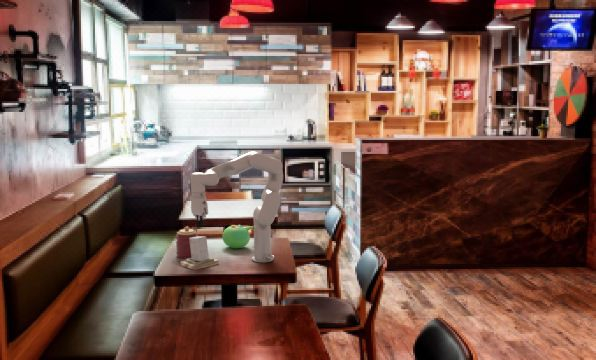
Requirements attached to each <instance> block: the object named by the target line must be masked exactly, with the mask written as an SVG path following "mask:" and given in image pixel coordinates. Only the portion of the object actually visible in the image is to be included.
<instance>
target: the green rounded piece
mask: <svg viewBox="0 0 596 360" xmlns="http://www.w3.org/2000/svg"><path fill="white" fill-rule="evenodd" d="M252 229H254V225H252V226H249V225H248V226H242V225H241V224H238V225H237V224H236V225H235V224H231V225H230V226H228V227H227V228H225V229H224V230H223V233H222V237H221V238H222V241H223V243H224V244H225V245H226V246H227V247H229V248H231V249H242V248H244V247H246V246H247V245H248V244H249V243H250V240H251V235H250V232H249V231H251V230H252Z"/></svg>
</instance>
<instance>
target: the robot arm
mask: <svg viewBox="0 0 596 360" xmlns="http://www.w3.org/2000/svg"><path fill="white" fill-rule="evenodd" d="M283 167H284V166H283V163H282V161H281V160H279V159H278V158H276V157H273V156H268V155H265V154H262V153H259V152H257V151H253V150H252V151H250V152H247V153H244V154H243V155H240V156H238V157H237V158H234V159H232V160H228V161H227V162H224V163H221V164H218V165H216V166H214V167H211V168H210V169H207V170H206V171H205V172H202V171H201V172H192V173H191V174H190V187H191V188H190V189H191V193H190V194H191V199H190V210H191V211H190V212H191V214H192V216H193V217H194V218H195V221H196V228H203V227H204V221H203V220H204V219H206V218H207V215H208V214H209V206H208V200H207V197H206V186H208V187H209V186H210V187H211V186H212V187H214V186H216V185H218V184H219V182H220V179H222V178H224V177H227V176H236V175H239V174H241V173H244V172H246V171H248V170H250V169H252V168H254V169H257V170H259V171H262V172H266V173H267V174H268V177H267V181H266V184H265V186H264V189H263V191H262V194H261V201H262V205H258V206H257V207H255V208H254V210H253V214H252V217H253V226H254V228H253V241H254V242H253V246H254V247H253V250H254V251H253V252H254V254H253V256H252V257H251V261H253V262H254V263H269V262H272V261H274V259H275V255H273V253H272V249H271V247H272V246H271V243H272V242H271V239H272V237H271V236H272V235H271V231H272V229H271V228H272V227H271V224H273V222H274V221H275V218H276V216H277V213H278V211H279V208H280V206H281V203H282V197H281V194H280V191H281V188H282V185H283V181H284V173H283Z"/></svg>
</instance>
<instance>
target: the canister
mask: <svg viewBox="0 0 596 360" xmlns="http://www.w3.org/2000/svg"><path fill="white" fill-rule="evenodd" d="M197 233H198V232H197V231H196V230H195V229H193V228H190V227H189V226H185V227H184V228H182V229H179V231H177V232H176V234H177V235H176V236H175V238H176V241H175V244H176V247H175V249H176V251H175V253H176V254H175V255H176V257H177V258H179V259H189V258H192V256H191V248H190V239H189V238H192V237H197V236H199V235H198V234H197Z"/></svg>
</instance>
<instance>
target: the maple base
mask: <svg viewBox="0 0 596 360" xmlns="http://www.w3.org/2000/svg"><path fill="white" fill-rule="evenodd" d="M219 264H220V261H219V259H217V258H216V259H215V258H213V257H210V256H209V259H207V260H203V261H192V258H184V260H182V261H180V266H182V267H184V268H188V269H190V270H193V271H197V270H200V269H203V268H208V267H211V266H215V265H219Z"/></svg>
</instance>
